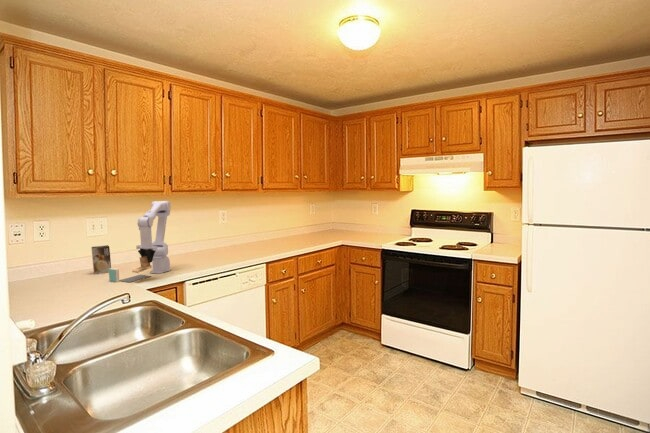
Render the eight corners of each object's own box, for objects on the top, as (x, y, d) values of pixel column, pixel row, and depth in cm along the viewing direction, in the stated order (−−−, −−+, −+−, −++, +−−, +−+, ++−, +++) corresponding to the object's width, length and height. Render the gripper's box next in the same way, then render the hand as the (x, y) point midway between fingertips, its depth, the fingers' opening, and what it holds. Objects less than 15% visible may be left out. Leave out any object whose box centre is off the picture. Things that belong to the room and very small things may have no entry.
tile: (112, 280, 207) (111, 268, 206) (119, 281, 204) (118, 269, 203) (109, 281, 205) (108, 268, 204) (116, 282, 202) (115, 269, 202)
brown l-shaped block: (146, 266, 210) (144, 255, 208) (151, 267, 208) (150, 256, 207) (132, 272, 202) (130, 260, 200) (138, 272, 200) (136, 261, 199)
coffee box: (110, 270, 231) (108, 244, 229) (111, 272, 226) (109, 246, 224) (93, 272, 225) (91, 246, 224) (94, 274, 220) (92, 248, 219)
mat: (140, 275, 217) (140, 274, 217) (151, 276, 213) (151, 276, 213) (118, 281, 205) (118, 280, 205) (129, 282, 201) (129, 282, 201)
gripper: (130, 238, 206) (132, 262, 207) (149, 240, 200) (150, 264, 201) (141, 236, 212) (143, 260, 214) (160, 238, 206) (161, 262, 208)
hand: (147, 262), depth 208 cm, fingers closed on brown l-shaped block, 3 cm apart
